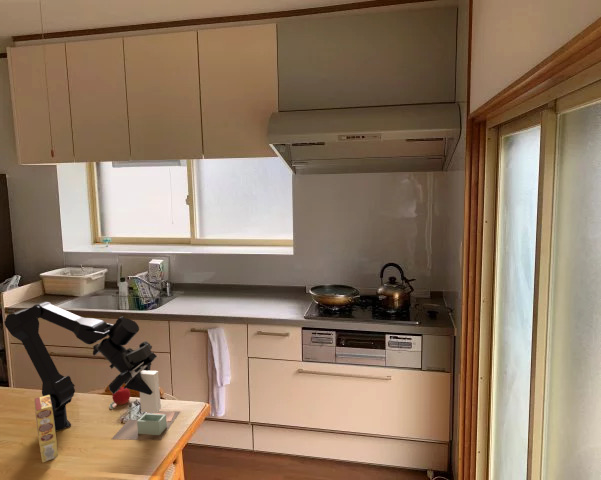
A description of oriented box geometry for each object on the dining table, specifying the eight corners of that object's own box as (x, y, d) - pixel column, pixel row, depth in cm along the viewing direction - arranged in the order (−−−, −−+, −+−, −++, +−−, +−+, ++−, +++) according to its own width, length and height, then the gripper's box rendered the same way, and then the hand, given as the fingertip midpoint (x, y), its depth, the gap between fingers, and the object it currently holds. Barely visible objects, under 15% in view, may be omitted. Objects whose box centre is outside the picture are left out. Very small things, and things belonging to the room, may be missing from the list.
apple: (104, 410, 151) (103, 392, 150) (117, 399, 159) (115, 382, 158) (127, 411, 150) (125, 393, 149) (138, 400, 158) (137, 382, 157)
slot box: (137, 433, 134) (136, 421, 134) (145, 425, 139) (144, 413, 138) (159, 435, 133) (158, 422, 133) (166, 426, 138) (166, 414, 137)
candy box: (58, 458, 125) (53, 405, 123) (41, 463, 123) (35, 410, 121) (55, 443, 132) (50, 393, 131) (39, 448, 130) (33, 398, 128)
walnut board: (111, 442, 132) (111, 438, 132) (136, 413, 148) (136, 410, 148) (161, 443, 131) (160, 439, 131) (180, 414, 147) (180, 411, 147)
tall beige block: (141, 412, 134) (138, 373, 133) (145, 407, 137) (142, 370, 135) (156, 413, 134) (153, 374, 132) (160, 408, 136) (158, 370, 135)
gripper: (115, 348, 124) (155, 388, 123) (149, 326, 142) (184, 361, 142) (91, 374, 126) (130, 413, 126) (128, 349, 145) (162, 384, 144)
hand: (153, 391), depth 134 cm, fingers closed on tall beige block, 3 cm apart
